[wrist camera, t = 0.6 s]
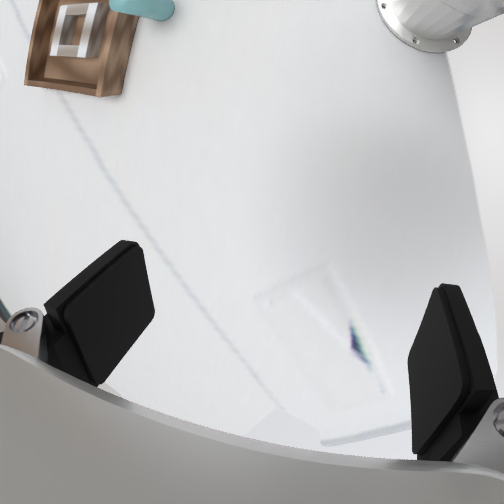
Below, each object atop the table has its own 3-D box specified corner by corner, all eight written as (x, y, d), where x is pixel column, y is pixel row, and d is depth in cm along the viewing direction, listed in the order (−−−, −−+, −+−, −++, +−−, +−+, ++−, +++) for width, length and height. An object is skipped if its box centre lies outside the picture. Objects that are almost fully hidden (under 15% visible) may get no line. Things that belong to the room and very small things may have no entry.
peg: (156, -2, 34) (113, -15, 25) (177, -1, 33) (136, -16, 25) (150, 20, 36) (106, 11, 27) (170, 22, 35) (128, 11, 27)
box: (65, -18, 34) (45, -21, 29) (151, -26, 32) (132, -34, 27) (44, 81, 44) (23, 85, 40) (121, 94, 42) (100, 97, 38)
